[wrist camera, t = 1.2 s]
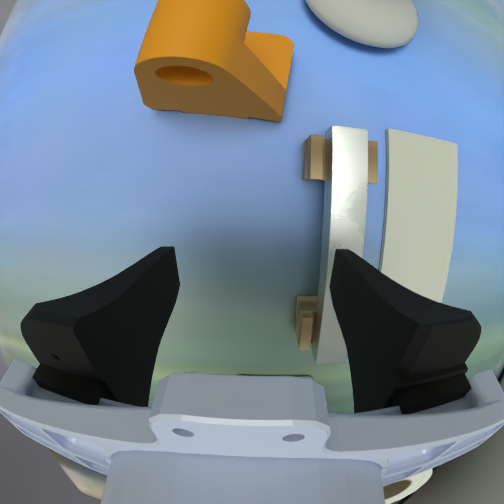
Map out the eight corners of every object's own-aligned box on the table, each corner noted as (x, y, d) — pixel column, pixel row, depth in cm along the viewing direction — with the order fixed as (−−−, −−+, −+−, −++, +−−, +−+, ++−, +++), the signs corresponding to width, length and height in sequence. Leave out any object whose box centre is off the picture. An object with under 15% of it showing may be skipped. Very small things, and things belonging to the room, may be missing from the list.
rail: (338, 346, 22) (345, 362, 20) (311, 347, 22) (315, 364, 20) (356, 135, 18) (367, 129, 15) (324, 132, 18) (332, 125, 16)
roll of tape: (331, 494, 34) (334, 517, 29) (347, 455, 30) (353, 483, 25) (406, 477, 33) (413, 497, 28) (435, 432, 29) (447, 455, 24)
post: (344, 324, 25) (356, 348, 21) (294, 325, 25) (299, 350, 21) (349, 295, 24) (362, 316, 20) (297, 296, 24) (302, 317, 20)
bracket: (292, 51, 19) (309, -37, 7) (280, 124, 21) (293, 66, 9) (174, 43, 19) (118, -29, 8) (156, 111, 21) (74, 67, 9)
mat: (429, 335, 25) (431, 337, 24) (365, 341, 25) (367, 344, 24) (454, 144, 20) (457, 144, 19) (385, 129, 20) (388, 128, 20)
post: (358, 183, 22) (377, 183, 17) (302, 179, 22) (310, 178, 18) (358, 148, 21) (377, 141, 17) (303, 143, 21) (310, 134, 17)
